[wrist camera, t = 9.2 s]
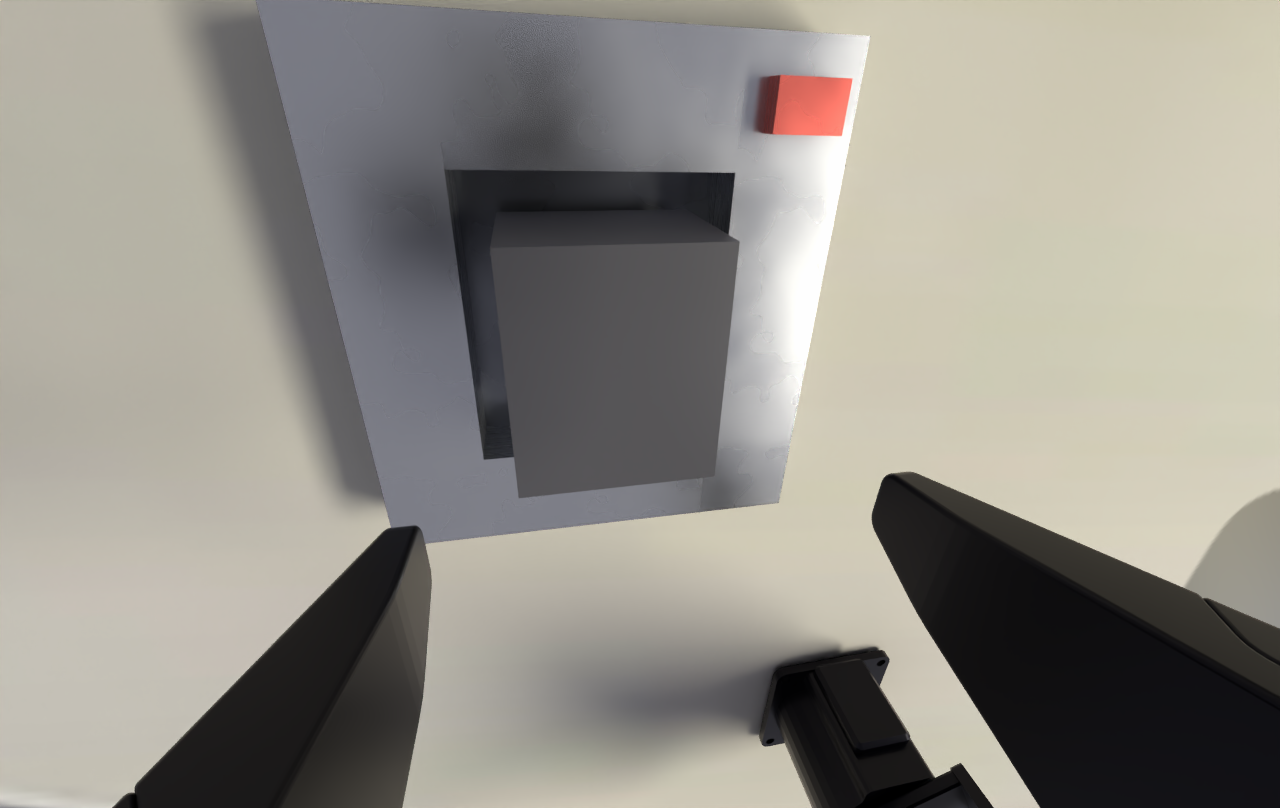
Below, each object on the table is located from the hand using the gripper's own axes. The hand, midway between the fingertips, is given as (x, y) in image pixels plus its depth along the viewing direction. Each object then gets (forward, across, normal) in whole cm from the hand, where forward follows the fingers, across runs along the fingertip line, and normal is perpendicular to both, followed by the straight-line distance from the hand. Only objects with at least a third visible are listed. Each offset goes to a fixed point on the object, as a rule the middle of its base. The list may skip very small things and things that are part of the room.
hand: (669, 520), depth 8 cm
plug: (+10, 0, 0) cm, 10 cm away
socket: (+10, 0, 0) cm, 10 cm away
